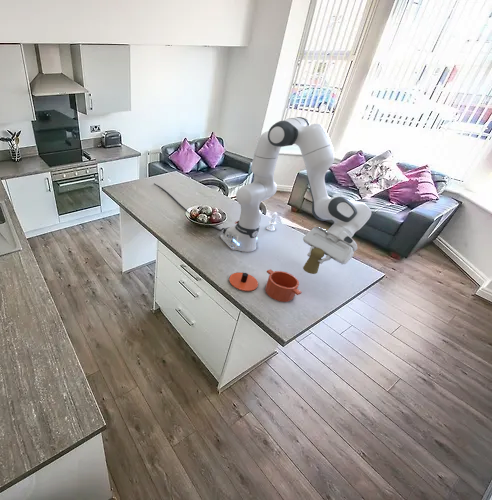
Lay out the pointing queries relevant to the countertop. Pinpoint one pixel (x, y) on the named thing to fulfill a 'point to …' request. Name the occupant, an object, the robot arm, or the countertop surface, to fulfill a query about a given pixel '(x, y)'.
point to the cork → (313, 261)
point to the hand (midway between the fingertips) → (313, 259)
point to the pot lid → (243, 281)
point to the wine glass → (272, 222)
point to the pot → (282, 286)
